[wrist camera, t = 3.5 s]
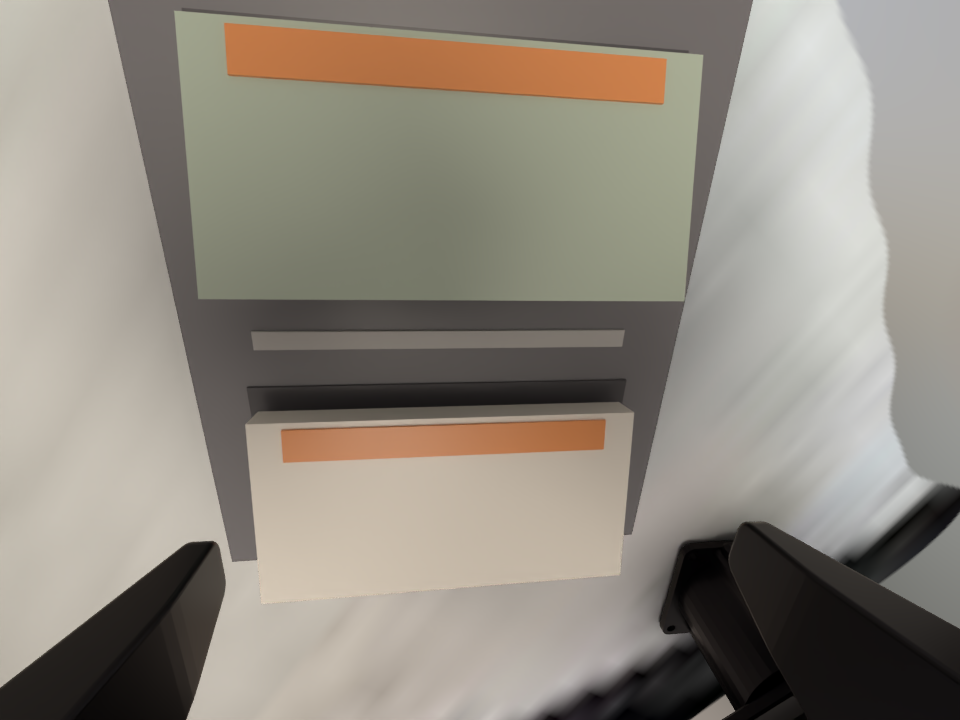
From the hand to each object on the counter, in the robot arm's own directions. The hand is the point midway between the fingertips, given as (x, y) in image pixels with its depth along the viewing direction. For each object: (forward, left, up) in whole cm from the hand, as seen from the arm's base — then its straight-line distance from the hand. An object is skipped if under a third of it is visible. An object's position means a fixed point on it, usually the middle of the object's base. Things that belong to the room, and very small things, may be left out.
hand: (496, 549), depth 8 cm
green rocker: (+5, 0, -8) cm, 10 cm away
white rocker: (-5, 0, -8) cm, 9 cm away
